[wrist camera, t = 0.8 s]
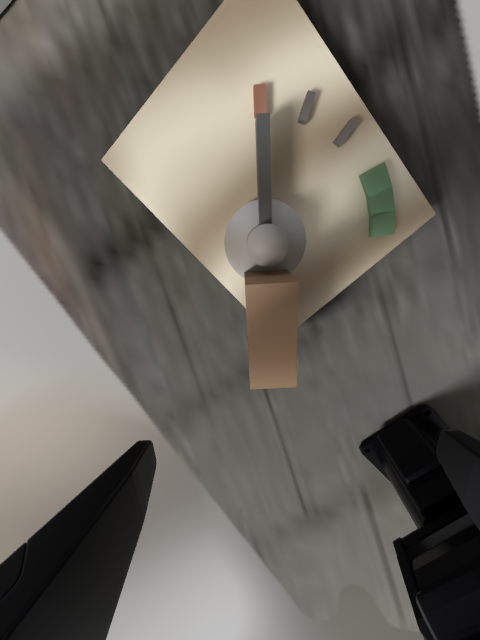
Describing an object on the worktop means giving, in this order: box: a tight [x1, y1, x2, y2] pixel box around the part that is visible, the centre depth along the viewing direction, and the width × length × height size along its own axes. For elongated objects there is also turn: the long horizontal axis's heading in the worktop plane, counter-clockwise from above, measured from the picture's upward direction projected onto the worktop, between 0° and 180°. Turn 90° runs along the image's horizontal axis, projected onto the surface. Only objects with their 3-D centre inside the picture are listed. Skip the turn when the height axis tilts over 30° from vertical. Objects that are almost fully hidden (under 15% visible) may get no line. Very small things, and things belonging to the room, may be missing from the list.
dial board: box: [101, 0, 436, 326], centre depth 15 cm, size 14×12×2 cm
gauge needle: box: [224, 113, 306, 389], centre depth 14 cm, size 13×4×4 cm, turn 3°
